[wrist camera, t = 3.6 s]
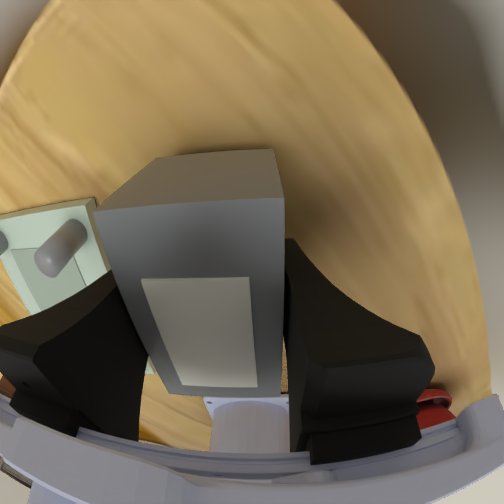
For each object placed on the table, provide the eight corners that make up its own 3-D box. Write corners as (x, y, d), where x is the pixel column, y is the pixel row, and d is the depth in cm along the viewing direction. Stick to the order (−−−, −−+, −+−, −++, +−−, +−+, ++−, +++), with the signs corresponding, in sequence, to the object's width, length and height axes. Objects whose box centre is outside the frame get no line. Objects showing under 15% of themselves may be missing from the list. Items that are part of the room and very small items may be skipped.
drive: (276, 310, 14) (280, 399, 10) (189, 311, 15) (168, 395, 10) (273, 148, 10) (284, 199, 6) (156, 158, 10) (91, 213, 6)
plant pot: (445, 362, 21) (482, 467, 11) (451, 400, 27) (474, 474, 16) (328, 414, 25) (339, 518, 15) (365, 438, 31) (376, 512, 21)
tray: (157, 364, 21) (146, 406, 17) (64, 351, 21) (48, 384, 18) (93, 197, 13) (52, 235, 10) (-6, 216, 14) (-40, 246, 10)
